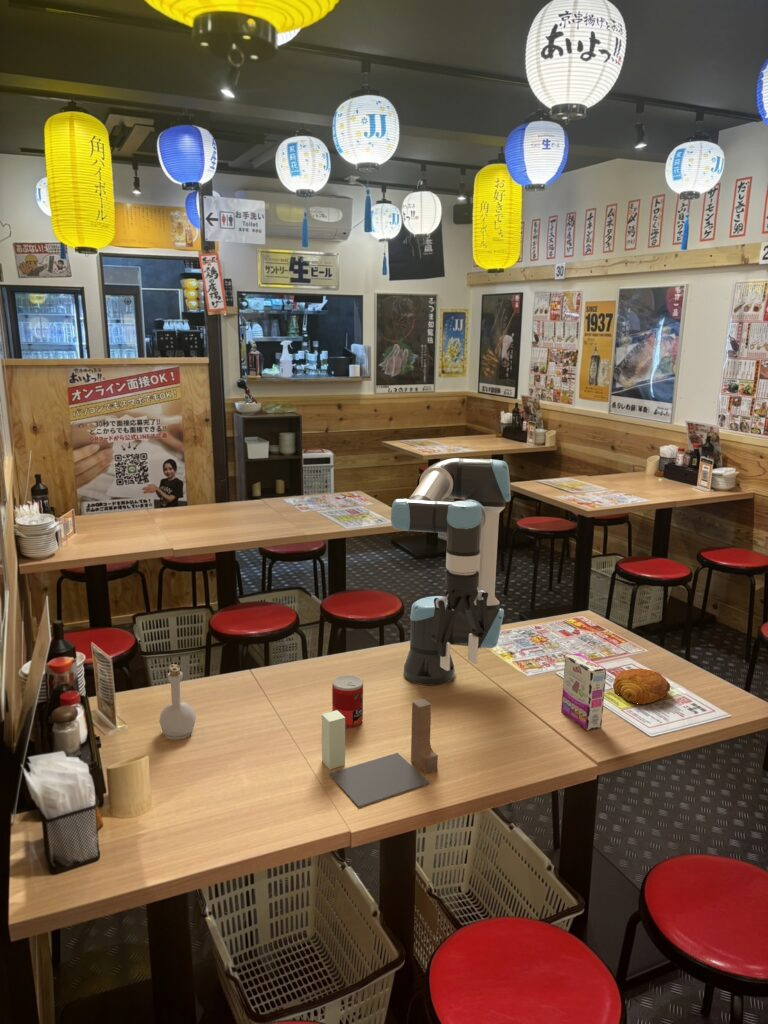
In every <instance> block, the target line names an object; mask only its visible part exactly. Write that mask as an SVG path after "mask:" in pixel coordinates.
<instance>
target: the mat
mask: <svg viewBox="0 0 768 1024" xmlns="http://www.w3.org/2000/svg"><path fill="white" fill-rule="evenodd" d="M328 774H329V776H330V777H331V779H332V780H334V783H336V784H337V786H339V788H341V790H342V791H343V792H344V793H345V794H346V796H347V797H348V798H349V799H350V800H351V801H352V803H354V804H355V806H357V808H359V809H360V808H362V807H366V806H368V805H371V804H375V803H378V802H380V801H383V800H386V799H390V798H392V797H395V796H398V795H402V794H405V793H408V792H410V791H413V790H416V789H418V788H422V787H425V786H428V785H430V784H431V781H429V780H428V779H427V778H426V777H425V776H424V775H423V774H422V773H420V772H419V771H418V770H417V769H416V768H415V767H414V766H413V765H412V764H411V763H410V762H409V761H407V760H406V759H405V757H403V756H402V755H401V754H400V753H398V752H395V753H391V754H389V755H388V754H387V755H386V756H382V757H378V758H375V759H372V760H369V761H365V762H363V763H358V764H356V765H353V766H349V767H345V768H342V769H339V770H336V771H333V772H329V773H328Z"/></svg>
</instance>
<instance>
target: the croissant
mask: <svg viewBox="0 0 768 1024" xmlns="http://www.w3.org/2000/svg"><path fill="white" fill-rule="evenodd" d="M612 688H613V691H614V693H615V694H616V695H618V694H619V695H622V696H621V697H622V698H623V699H624V698H625V700H627V701H629V702H630V701H631V702H630V703H632V702H634V703H638V704H637V705H639V704H643V705H647V704H651V703H654V702H656V701H658V700H660V698H661V699H662V697H663V698H664V697H666V696H667V694H668V693H669V692H670V689H671V685H670V682H669V681H668V680H667V679H666V677H664V676H663V675H662V674H661V673H660V672H657V671H655V670H652V669H647V668H631V669H627V670H623V671H619V673H617V674H616V675H615V678H614V681H613V683H612ZM619 695H618V696H619ZM634 703H633V704H634ZM646 703H647V704H646Z"/></svg>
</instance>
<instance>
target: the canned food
mask: <svg viewBox="0 0 768 1024" xmlns="http://www.w3.org/2000/svg"><path fill="white" fill-rule="evenodd" d="M331 686H332V687H331V694H332V695H331V697H332V698H331V701H332V702H331V703H332V704H331V705H332V707H331V708H332V709H331V710H332V711H336V710H338V711H339V712H340V713H341V714H342V715H343V716H344V717H345V729H346V728H354V727H358V726H359V725H360V724H362V722H363V719H364V718H363V717H364V681H363V680H362V678H360V677H358V676H354V675H340V676H337V677H335V678H334V679H333V680H332V685H331ZM332 711H331V712H332Z"/></svg>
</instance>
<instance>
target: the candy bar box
mask: <svg viewBox="0 0 768 1024" xmlns="http://www.w3.org/2000/svg"><path fill="white" fill-rule="evenodd" d="M564 657H565V658H564V671H563V681H562V683H563V684H562V695H561V696H562V697H561V709H560V710H561V713H562V714H563V715H565V716H566V717H568V718H569V719H571V720H572V721H573V722H574V723H576V724H577V725H578V726H580V727H582V728H583V729H584V730H586V731H591V730H597V729H600V728H602V726H603V725H602V724H603V711H604V701H605V700H604V699H605V690H606V686H605V685H606V677H607V668H606V667H604V666H602V665H601V664H599V663H597V662H596V661H594V660H591V659H590V658H588V657H587V656H586V655H583V654H582V653H579V652H578V653H573V654H572V653H571V654H567V655H565V656H564Z"/></svg>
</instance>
